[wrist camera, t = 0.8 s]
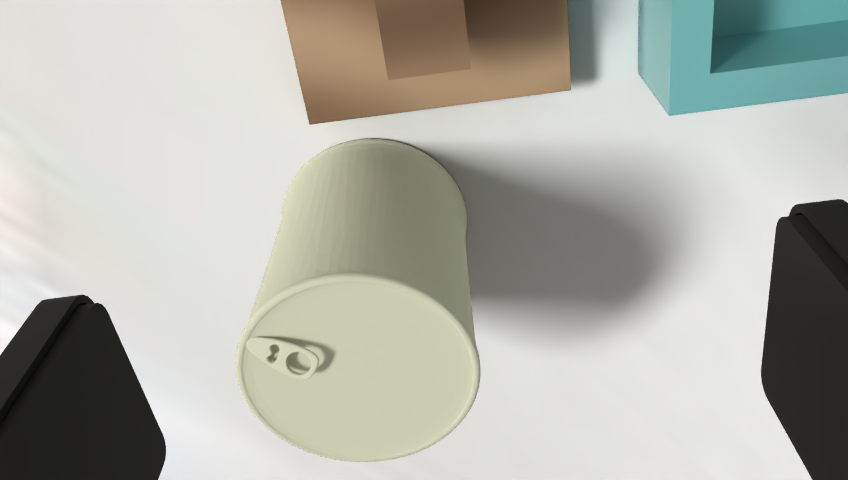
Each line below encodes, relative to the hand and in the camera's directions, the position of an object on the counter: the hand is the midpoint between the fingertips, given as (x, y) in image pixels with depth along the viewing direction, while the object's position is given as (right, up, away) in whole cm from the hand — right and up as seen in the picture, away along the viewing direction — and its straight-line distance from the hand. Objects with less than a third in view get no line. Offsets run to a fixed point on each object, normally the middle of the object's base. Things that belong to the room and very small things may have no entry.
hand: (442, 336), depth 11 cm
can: (-3, +2, +28) cm, 28 cm away
